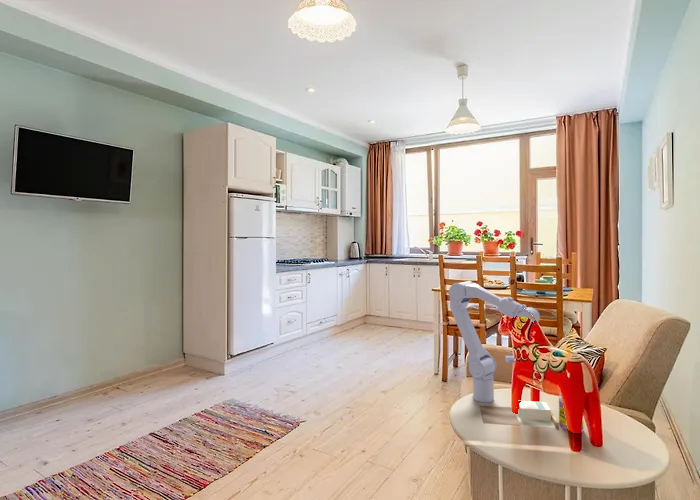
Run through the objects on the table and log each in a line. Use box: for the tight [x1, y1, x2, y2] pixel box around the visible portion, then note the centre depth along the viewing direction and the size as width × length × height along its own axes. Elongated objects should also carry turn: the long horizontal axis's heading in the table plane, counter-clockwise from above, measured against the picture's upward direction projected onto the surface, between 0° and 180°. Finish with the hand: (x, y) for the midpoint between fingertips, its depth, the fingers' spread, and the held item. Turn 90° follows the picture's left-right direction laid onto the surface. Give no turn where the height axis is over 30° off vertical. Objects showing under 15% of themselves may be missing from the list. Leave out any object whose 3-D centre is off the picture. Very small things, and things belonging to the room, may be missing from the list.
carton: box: [518, 400, 552, 421], centre depth 135 cm, size 6×9×4 cm
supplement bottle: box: [558, 395, 584, 432], centre depth 127 cm, size 7×7×13 cm
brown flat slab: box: [479, 405, 560, 429], centre depth 135 cm, size 14×22×2 cm, turn 78°
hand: (529, 384), depth 139 cm, fingers closed
